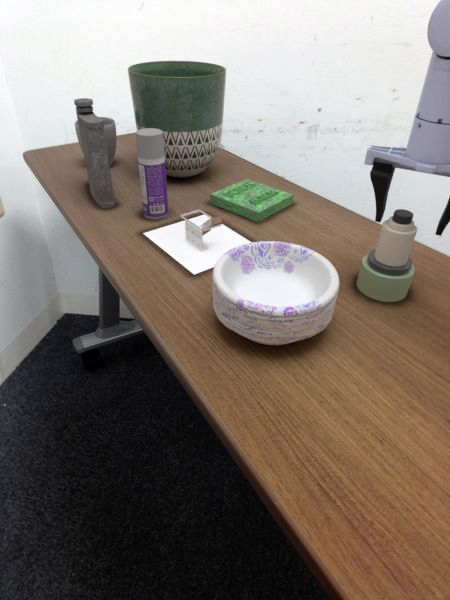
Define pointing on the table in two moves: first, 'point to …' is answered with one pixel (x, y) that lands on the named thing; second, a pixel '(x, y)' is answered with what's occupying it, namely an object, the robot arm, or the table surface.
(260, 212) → the green jade tablet
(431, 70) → the robot arm
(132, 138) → the table surface
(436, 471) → the table surface
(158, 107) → the planter
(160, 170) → the container
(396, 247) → the small bottle
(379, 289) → the green jar
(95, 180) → the flask
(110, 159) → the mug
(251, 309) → the paper bowls
